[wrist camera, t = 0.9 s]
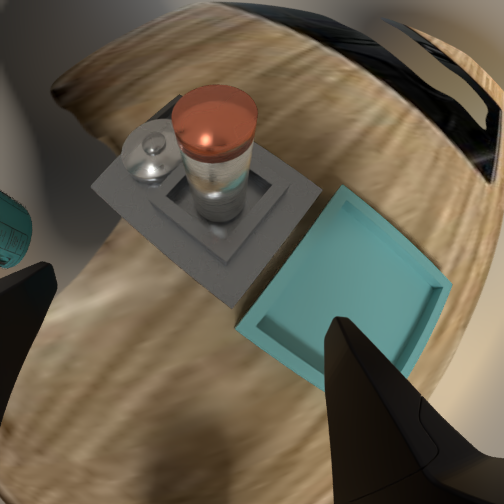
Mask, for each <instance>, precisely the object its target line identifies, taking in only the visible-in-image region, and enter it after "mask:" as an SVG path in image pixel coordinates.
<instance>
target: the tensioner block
mask: <svg viewBox="0 0 504 504" xmlns="http://www.w3.org/2000/svg"><path fill="white" fill-rule="evenodd" d="M181 97H183V96H182V95H180V94H179V95H178V96H177V97H176V98H174V99H173V100H172V101H170V102H169V103H168V104H167V105H166V106H164V107H163V108H162V109H161V110H159V111H158V112H157V113H156V114H155V115H154V116H152V117H151V118H150V119H149V120H148V121H147V122H146V123H144V124H142V125H140V126H139V127H138V128H136V129H135V130H134V131H133V132H132V133H131V134H130V135H129V136H128V137H127V139H126V141H125V143H124V145H123V148H122V153H121V154H120V155H119V156H118V157H117V158H116V159H115V160H114V161H113V163H112V164H111V165H110V166H109V167H108V168H107V169H106V170H105V171H104V172H103V173H102V174H101V176H100V177H99V178H98V179H97V180H96V181H95V182H94V183H93V184H92V186H91V188H92V189H93V190H94V191H95V192H96V193H97V194H98V195H99V196H100V197H101V198H102V199H103V200H104V201H106V202H107V203H108V204H109V205H110V206H111V207H112V208H113V209H114V210H115V211H116V212H117V213H119V214H120V215H121V216H122V217H123V218H124V219H125V220H126V221H127V222H128V223H129V224H131V225H132V226H133V227H134V228H135V229H136V230H137V231H138V232H139V233H141V234H142V235H143V236H144V237H145V238H146V239H147V240H149V241H150V242H151V243H152V244H153V245H154V246H155V247H157V248H158V249H159V250H160V251H161V252H162V253H164V254H165V255H166V256H167V257H168V258H169V259H171V260H172V261H173V262H174V263H175V264H177V265H178V266H179V267H180V268H181V269H183V270H184V271H185V272H186V273H187V274H189V275H190V276H191V277H192V278H193V279H195V280H196V281H197V282H198V283H200V284H201V285H202V286H203V287H205V288H206V289H207V290H208V291H210V292H211V293H212V294H213V295H215V296H216V297H217V298H218V299H220V300H221V301H222V302H223V303H225V304H226V305H227V306H229V307H230V308H231V309H232V308H233V307H234V306H235V305H236V303H237V302H238V301H239V300H240V298H241V297H242V296H243V294H244V293H245V292H246V291H247V289H248V288H249V287H250V285H251V284H252V283H253V282H254V280H255V279H256V278H257V276H258V275H259V274H260V273H261V271H262V270H263V269H264V267H265V266H266V265H267V263H268V262H269V261H270V260H271V258H272V257H273V256H274V254H275V253H276V252H277V250H278V249H279V248H280V246H281V245H282V244H283V242H284V241H285V240H286V239H287V237H288V236H289V235H290V233H291V232H292V231H293V229H294V228H295V227H296V225H297V224H298V223H299V221H300V220H301V219H302V217H303V216H304V215H305V213H306V212H307V211H308V209H309V208H310V207H311V205H312V204H313V203H314V201H315V200H316V199H317V197H318V196H319V195H320V193H321V192H322V189H321V188H320V187H318V186H317V185H316V184H314V183H313V182H312V181H310V180H309V179H307V178H306V177H305V176H303V175H302V174H301V173H299V172H298V171H296V170H295V169H293V168H292V167H291V166H289V165H288V164H286V163H285V162H283V161H282V160H281V159H279V158H278V157H276V156H275V155H273V154H272V153H270V152H269V151H267V150H266V149H264V148H263V147H261V146H260V145H258V144H257V143H255V142H253V149H252V156H251V163H250V170H249V176H248V183H247V190H246V197H245V203H244V206H243V208H242V210H241V212H240V213H239V214H238V215H237V216H236V217H234V218H233V219H231V220H228V221H224V222H214V221H210V220H207V219H205V218H204V217H202V216H201V215H200V214H199V213H198V211H197V210H196V207H195V204H194V201H193V198H192V194H191V191H190V187H189V184H188V180H187V177H186V173H185V170H184V166H183V162H182V159H181V155H180V151H179V148H178V144H177V140H176V136H175V132H174V129H173V125H172V119H171V116H172V111H173V108H174V106H175V105H176V103H177V102H178V101H179V99H180V98H181Z"/></svg>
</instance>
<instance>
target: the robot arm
mask: <svg viewBox="0 0 504 504" xmlns="http://www.w3.org/2000/svg"><path fill="white" fill-rule="evenodd" d="M56 291H57V280H56V276H55V273H54V269H53V266H52V265H51V264H50V263H47V262H43V261H42V262H39V263H36V264H34V265H31V266H29V267H26V268H24V269H22V270H20V271H17V272H15V273H12V274H10V275H8V276H5V277H3V278H1V279H0V426H1V422H2V419H3V416H4V413H5V410H6V407H7V404H8V401H9V398H10V395H11V393H12V390H13V387H14V385H15V382H16V380H17V377H18V375H19V372H20V370H21V368H22V365H23V363H24V361H25V359H26V356H27V354H28V352H29V350H30V348H31V346H32V344H33V342H34V340H35V337H36V335H37V334H38V332H39V329H40V327H41V325H42V323H43V321H44V318H45V316H46V313H47V311H48V309H49V307H50V304H51V302H52V300H53V298H54V296H55V293H56ZM324 387H325V397H326V406H327V416H328V426H329V436H330V448H331V461H332V476H333V495H334V504H504V458H496V457H491V456H488V455H485V454H483V453H481V452H480V451H478V450H477V449H476V448H475V447H473V445H472V444H470V443H469V442H468V441H467V440H466V439H465V438H464V437H463V436H462V435H461V434H460V433H459V432H458V431H456V430H455V429H454V428H453V427H452V426H451V425H450V424H449V423H448V422H447V421H446V420H445V419H444V418H443V417H442V416H441V415H440V414H439V413H438V412H437V411H436V410H435V409H434V408H433V407H432V406H431V405H430V404H429V402H428V401H427V400H426V399H425V398H424V397H423V396H421V394H420V393H419V392H418V391H417V389H416V388H415V387H414V386H413V385H412V384H411V383H410V382H409V381H408V380H407V379H406V378H405V376H404V375H403V374H402V373H401V372H400V371H399V370H398V369H397V368H396V367H395V366H394V365H393V364H392V363H391V362H390V360H389V359H388V358H387V357H386V356H385V355H384V354H383V353H382V352H381V351H380V350H379V349H378V348H377V347H376V346H375V345H374V344H373V342H372V341H371V340H370V339H369V338H368V337H367V336H366V335H365V334H364V333H363V332H362V331H361V330H360V329H359V328H358V327H357V326H356V325H355V324H354V323H353V322H352V321H351V320H350V319H349V318H348V317H342V316H336V317H334V318H333V320H332V322H331V324H330V326H329V328H328V330H327V333H326V335H325V338H324Z"/></svg>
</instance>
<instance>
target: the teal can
mask: <svg viewBox="0 0 504 504" xmlns="http://www.w3.org/2000/svg"><path fill="white" fill-rule="evenodd" d="M31 236H32V221H31V217H30V215H29V213H28V211H27V210H26V209H25V208H24V207H23V206H22V205H21V204H19V203H17V201H16V202H15V200H12V199H11V197H9V196H8V195H7V194H5V193H3V192H1V191H0V267H2V268H7V269H8V268H10V267H13V266H15V265H17V264H18V263H19V262H20V261H21V260H22V258H23V257H24V256H25V254H26V252H27V250H28V247H29V244H30V241H31Z"/></svg>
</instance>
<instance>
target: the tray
mask: <svg viewBox="0 0 504 504" xmlns="http://www.w3.org/2000/svg"><path fill="white" fill-rule="evenodd" d="M452 285H453V284H452V283H451V282H450V281H449V280H448V279H447V278H446V277H445V276H444V275H443V274H442V273H441V272H440V271H439V269H438V268H437V267H436V266H435V265H434V264H433V263H432V262H431V261H430V260H429V259H428V258H427V257H426V256H425V255H424V254H422V253H421V252H420V251H419V250H418V249H417V248H416V247H415V246H414V245H413V244H412V243H411V242H410V241H409V240H408V239H407V238H406V237H405V236H403V235H402V234H401V233H400V232H399V231H398V230H397V229H396V228H395V227H393V226H392V225H391V224H390V223H389V222H388V221H387V220H385V219H384V218H383V217H382V216H381V215H380V214H379V213H377V212H376V211H375V210H374V209H373V208H371V207H370V206H369V205H368V204H367V203H365V202H364V201H363V200H362V199H360V198H359V197H358V196H357V195H355V194H354V193H353V192H352V191H350V190H349V189H348V188H347V187H345V186H344V185H343V184H342V185H341V186H340V188H339V189H338V190H337V191H336V192H335V194H334V195H333V196H332V198H331V199H330V201H329V202H328V203H327V205H326V206H325V208H324V209H323V210H322V212H321V213H320V215H319V216H318V217H317V219H316V220H315V222H314V223H313V224H312V226H311V227H310V228H309V230H308V231H307V233H306V234H305V235H304V237H303V238H302V239H301V241H300V242H299V244H298V245H297V246H296V248H295V249H294V250H293V252H292V253H291V254H290V256H289V257H288V258H287V260H286V261H285V262H284V264H283V265H282V266H281V268H280V269H279V270H278V272H277V273H276V274H275V276H274V277H273V278H272V280H271V281H270V282H269V284H268V285H267V286H266V288H265V289H264V290H263V292H262V293H261V294H260V296H259V297H258V298H257V299H256V301H255V302H254V303H253V305H252V306H251V307H250V308H249V310H248V311H247V312H246V314H245V315H244V316H243V317H242V319H241V320H240V321H239V323H238V324H237V325H236V326H235V330H237V331H238V332H239V333H241V334H242V335H243V336H245V337H246V338H247V339H249V340H250V341H251V342H253V343H254V344H255V345H257V346H258V347H260V348H261V349H262V350H264V351H265V352H266V353H268V354H269V355H271V356H272V357H273V358H275V359H276V360H278V361H279V362H281V363H282V364H283V365H285V366H286V367H288V368H289V369H291V370H292V371H294V372H295V373H297V374H298V375H299V376H301V377H302V378H304V379H305V380H307V381H308V382H310V383H311V384H313V385H315V386H316V387H318V388H319V389H321V390H322V391H324V392H325V387H324V338H325V335H326V333H327V330H328V328H329V326H330V324H331V322H332V320H333V318H334V317H336V316H342V317H348V318H349V319H350V320H351V321H352V322H353V323H354V324H355V325H356V326H357V327H358V328H359V329H360V330H361V331H362V332H363V333H364V334H365V335H366V336H367V337H368V338H369V339H370V340H371V341H372V342H373V344H374V345H375V346H376V347H377V348H378V349H379V350H380V351H381V352H382V353H383V354H384V355H385V356H386V357H387V358H388V359H389V360H390V362H391V363H392V364H393V365H394V366H395V367H396V368H397V369H398V370H399V371H400V372H401V373H402V374H403V375H404V376H405V378H406V379H407V378H408V376H409V375H410V373H411V371H412V369H413V368H414V366H415V364H416V362H417V361H418V359H419V357H420V355H421V353H422V351H423V349H424V348H425V346H426V344H427V342H428V340H429V338H430V336H431V334H432V332H433V330H434V327H435V325H436V323H437V321H438V319H439V317H440V314H441V312H442V310H443V307H444V305H445V303H446V300H447V298H448V295H449V293H450V290H451V288H452Z"/></svg>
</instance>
